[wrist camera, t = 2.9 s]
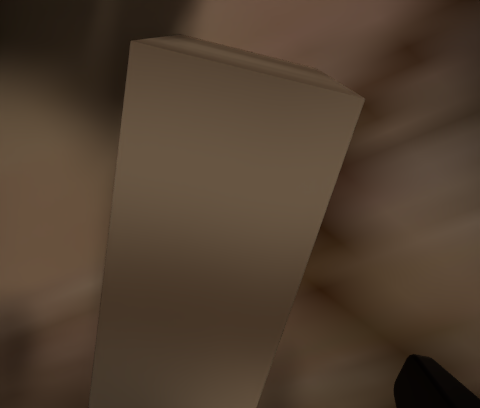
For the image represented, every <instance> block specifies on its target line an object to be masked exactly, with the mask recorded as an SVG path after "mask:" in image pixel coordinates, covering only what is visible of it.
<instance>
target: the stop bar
mask: <svg viewBox="0 0 480 408" xmlns="http://www.w3.org/2000/svg"><path fill="white" fill-rule="evenodd" d="M364 101H365V98H363V97H362V96H360V95H358V94H357V93H355V92H353V91H352V90H350V89H349V88H347V87H345V86H344V85H342V84H340V83H339V82H337V81H336V80H334V79H332V78H331V77H329V76H327V75H326V74H324V73H323V72H321V71H319V70H318V69H316V68H313V67H309V66H305V65H301V64H297V63H293V62H289V61H285V60H281V59H277V58H273V57H269V56H265V55H261V54H257V53H253V52H249V51H245V50H241V49H237V48H233V47H229V46H225V45H221V44H217V43H213V42H209V41H205V40H201V39H197V38H193V37H189V36H185V35H181V34H179V35H171V36H164V37H156V38H148V39H141V40H133V41H131V42H130V51H129V60H128V68H127V77H126V86H125V94H124V103H123V112H122V120H121V129H120V138H119V146H118V155H117V164H116V173H115V181H114V190H113V199H112V207H111V216H110V225H109V233H108V242H107V251H106V259H105V268H104V277H103V285H102V294H101V303H100V311H99V320H98V329H97V337H96V346H95V355H94V363H93V372H92V381H91V389H90V398H89V407H88V408H256V407H257V405H258V402H259V399H260V396H261V393H262V390H263V387H264V385H265V382H266V379H267V376H268V373H269V370H270V368H271V365H272V362H273V359H274V356H275V353H276V351H277V348H278V345H279V342H280V339H281V336H282V334H283V331H284V328H285V325H286V322H287V319H288V316H289V314H290V311H291V308H292V305H293V302H294V299H295V297H296V294H297V291H298V288H299V285H300V282H301V280H302V277H303V274H304V271H305V268H306V265H307V263H308V260H309V257H310V254H311V251H312V248H313V245H314V243H315V240H316V237H317V234H318V231H319V228H320V226H321V223H322V220H323V217H324V214H325V211H326V209H327V206H328V203H329V200H330V197H331V194H332V192H333V189H334V186H335V183H336V180H337V177H338V174H339V172H340V169H341V166H342V163H343V160H344V157H345V155H346V152H347V149H348V146H349V143H350V140H351V138H352V135H353V132H354V129H355V126H356V123H357V121H358V118H359V115H360V112H361V109H362V106H363V103H364Z"/></svg>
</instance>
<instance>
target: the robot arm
mask: <svg viewBox="0 0 480 408" xmlns="http://www.w3.org/2000/svg"><path fill="white" fill-rule="evenodd" d="M394 397H395V403H396V408H480V399H479V398H478V397H477V396H476V395H474V394H473V393H472V392H471V391H470V390H469V389H467V388H466V387H465V386H464V385H463V384H462V383H460V382H459V381H458V380H457V379H456V378H455V377H453V376H452V375H451V374H450V373H449V372H448V371H446V370H445V369H444V368H443V367H442V366H441V365H439V364H438V363H437V362H436V361H435V360H434V359H432V358H430V357H427V356H422V355H416V354H412V355H410V356H408V358H407V359H406V361H405V363H404V365H403V367H402V369H401V371H400V373H399V375H398V377H397V379H396V381H395V384H394Z"/></svg>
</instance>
